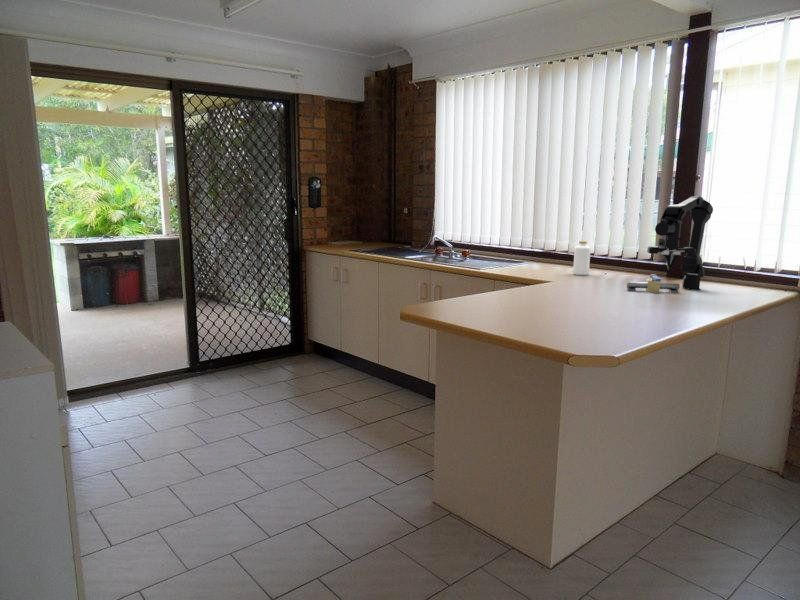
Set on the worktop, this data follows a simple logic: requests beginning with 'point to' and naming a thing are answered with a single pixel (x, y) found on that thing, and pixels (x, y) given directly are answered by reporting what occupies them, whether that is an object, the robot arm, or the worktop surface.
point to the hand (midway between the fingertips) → (669, 269)
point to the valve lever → (655, 277)
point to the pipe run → (653, 286)
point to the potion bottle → (581, 259)
